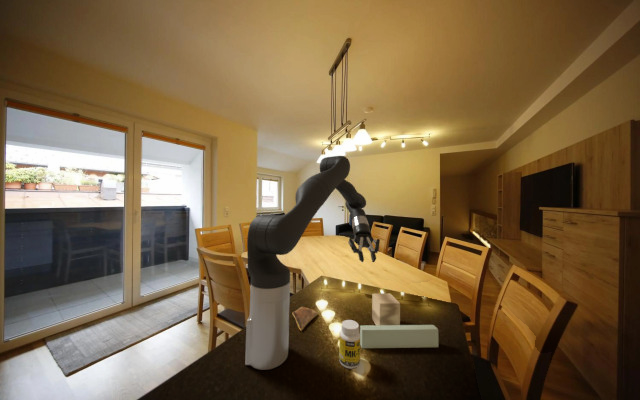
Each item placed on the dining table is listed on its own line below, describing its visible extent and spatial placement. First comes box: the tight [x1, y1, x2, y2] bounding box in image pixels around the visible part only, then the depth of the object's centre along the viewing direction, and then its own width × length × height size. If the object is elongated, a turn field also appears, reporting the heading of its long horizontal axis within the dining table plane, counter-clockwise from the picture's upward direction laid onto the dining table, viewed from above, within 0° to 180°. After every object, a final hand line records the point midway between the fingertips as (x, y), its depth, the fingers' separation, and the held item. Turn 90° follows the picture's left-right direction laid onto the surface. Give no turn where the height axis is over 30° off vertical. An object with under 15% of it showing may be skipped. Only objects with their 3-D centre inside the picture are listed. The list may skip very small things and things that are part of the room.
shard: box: [291, 306, 319, 332], centre depth 64 cm, size 11×8×2 cm
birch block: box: [371, 292, 401, 325], centre depth 63 cm, size 6×7×8 cm
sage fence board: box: [359, 324, 439, 349], centre depth 53 cm, size 20×2×4 cm, turn 93°
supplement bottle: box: [338, 319, 361, 370], centre depth 47 cm, size 5×5×8 cm
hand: (368, 260), depth 82 cm, fingers open, 4 cm apart
